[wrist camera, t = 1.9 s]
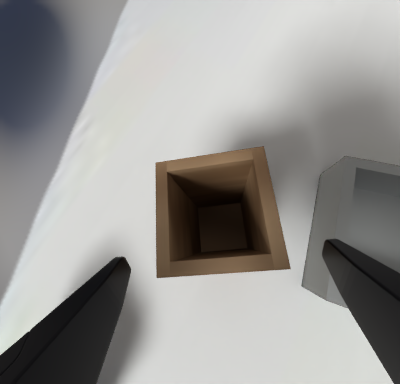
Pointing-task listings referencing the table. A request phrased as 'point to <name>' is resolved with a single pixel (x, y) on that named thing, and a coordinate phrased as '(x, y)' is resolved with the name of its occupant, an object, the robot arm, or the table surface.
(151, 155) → the table surface
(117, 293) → the robot arm
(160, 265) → the small crate
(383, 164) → the grey square tray
